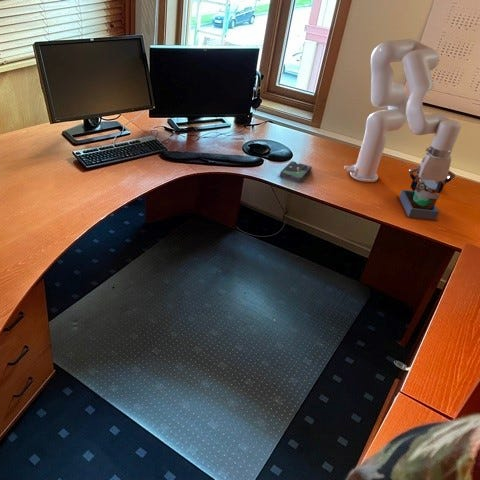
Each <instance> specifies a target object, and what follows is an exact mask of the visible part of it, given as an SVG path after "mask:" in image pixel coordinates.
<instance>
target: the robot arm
mask: <svg viewBox="0 0 480 480" xmlns="http://www.w3.org/2000/svg"><path fill="white" fill-rule="evenodd" d="M399 62H402V68H403V72H404V76H405V80H406V83H407V87H408V90H407V87H406V86H405V85H404V84H403V83H400V82H394V72H393V68H392V66H391V63H399ZM439 62H440V55H439V54H438V52H437V51H436V50H435V49H434V48H432V47H430V46H428V45H426V44H424V43H422V42H419V41H418V40H415V39H412V38H411V39H410V38H409V39H408V38H407V39H405V38H404V39H391V40H386V41H383V42H381V43H379V44H378V45H377V46H375V48H374V49H373V50H372V53H371V55H370V73H371V78H370V79H371V81H370V101H371V105H372V106H373V107H375V108H387V109H382V110H376V111H374V112H372V113H370V114H369V116H368V117H367V118H366V122H365V132H364V135H363V140H362V143H361V146H360V149H359V153H358V157H357V159H356V163H354V164H353V165H346V164H345V165H344V166H343V170H346V171H347V172H349V175H350V177H352V178H353V179H355V180H356V181H359V182H365V183H374V182H377V181H378V179H379V175H378V174H377V171H378V169H379V165H380V163H381V162H380V161H381V159H382V157H383V152H384V149H385V147H386V143H387V138H386V133H389V132H393V131H399V130H401V129H402V128H404V126H405V124H406V122H407V124H408V127H409V129H410V131H411V132H412V133H413V134H414V135H416V136H425V135H430V134H434V137H433V139H432V142H431V145H430V146H429V147H426V148H425V152H426V153H425V154H424V156H423V158H422V160H421V161H420V164H419V166H416V167H413V168H410V169H408V173H409V176H410V178H411V179H412V181H411V184H410V189H411V191H415V189H416V186H417V184H418V183H419V182H418V181H420V179H424V180H433V181H437V183H438V185H437V188H436V190H435V191H436V194H440V193H441V192H442V191H443V189H444V186H445V185H447V184H448V183H449V182H451V181H452V180H453V179H454V178H455V177H456V174H455V173H454V172H453V171H451V170H450V168H451V163H452V156H451V154H452V153H453V152H452V151H453V149H454V147H455V144H456V142H457V138H458V137H459V133H460V131H461V128H462V124H461V123H460V122H459V121H457V120H454V119H450V118H449V117H448V116H446V115H444V114H442V113H440V112H439V113H437V112H436V113H429V114H425V112H424V107H423V102H424V98H425V97H426V95H427V94H428V93H429V92H430V91H432V90H433V88H434V86H435V83H434V80H433V76H432V73H431V71H433V70H435V69H436V67H438V65H439ZM408 91H409V93H408ZM414 173H416V174H414Z"/></svg>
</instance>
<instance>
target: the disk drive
mask: <svg viewBox="0 0 480 480" xmlns="http://www.w3.org/2000/svg"><path fill="white" fill-rule="evenodd" d="M312 168H313V166H311V165H308V164H303V163H297V162H296V161H294V160H291V161H290V162H289V163H288V164H287V165H286V166H285V167H284V168H283V169H282V170H281V171H280V173H279V177H280V178H284V179H286V180H289V181H293V182H297V183H301V182H302V181H304V179H306V178H307V176H308V175H309V174H310V173H311V171H312Z"/></svg>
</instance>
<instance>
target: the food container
mask: <svg viewBox="0 0 480 480" xmlns="http://www.w3.org/2000/svg"><path fill="white" fill-rule="evenodd" d="M424 182H425V181H421V182H420V181H419V182H418V183H417V186H416V189H415V194H414V197H413V200H412V201H411V205H412V207H413V208H417V209H425V210H432V208H433V207H434V205H435V206H436V203H437V201H438V200H440V193H436V192H435V190H432V189H431V188H429V187H428V186H426V185H425V184H424Z"/></svg>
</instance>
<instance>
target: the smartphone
mask: <svg viewBox="0 0 480 480" xmlns="http://www.w3.org/2000/svg"><path fill="white" fill-rule="evenodd" d="M421 181H425V182H424V184H425V185H426V186H428V187H429V188H431V189H432V190H433V191H436V188H437V185H438V183H439V182H438V181H433V180H424V179H420V180H419V182H421Z"/></svg>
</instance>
